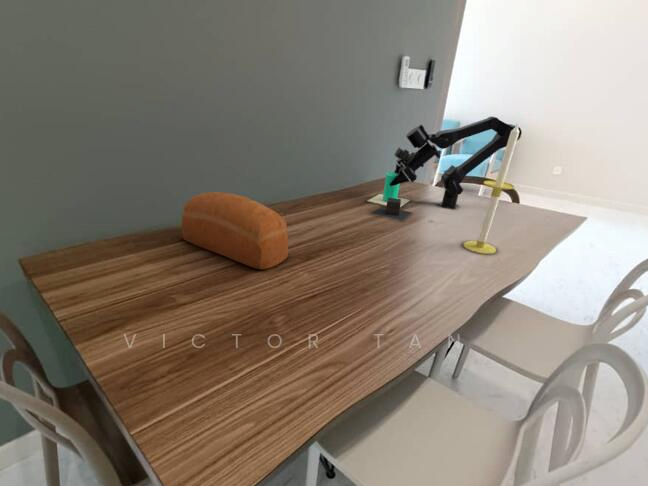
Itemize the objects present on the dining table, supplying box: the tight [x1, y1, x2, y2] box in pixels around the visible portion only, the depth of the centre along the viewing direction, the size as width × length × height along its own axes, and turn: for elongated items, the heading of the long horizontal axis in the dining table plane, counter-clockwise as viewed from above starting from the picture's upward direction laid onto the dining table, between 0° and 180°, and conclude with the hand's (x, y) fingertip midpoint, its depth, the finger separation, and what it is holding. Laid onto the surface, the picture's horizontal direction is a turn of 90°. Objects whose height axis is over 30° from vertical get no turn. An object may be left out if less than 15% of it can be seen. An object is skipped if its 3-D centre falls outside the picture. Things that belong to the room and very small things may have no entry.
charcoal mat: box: [371, 205, 413, 221], centre depth 151 cm, size 12×12×1 cm
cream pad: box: [367, 193, 411, 208], centre depth 165 cm, size 14×14×1 cm
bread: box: [181, 191, 289, 270], centre depth 111 cm, size 14×33×16 cm, turn 54°
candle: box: [382, 169, 401, 201], centre depth 162 cm, size 6×6×12 cm
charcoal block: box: [385, 198, 401, 216], centre depth 150 cm, size 5×5×5 cm
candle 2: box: [462, 120, 520, 255], centre depth 117 cm, size 10×10×38 cm
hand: (388, 183), depth 162 cm, fingers closed on candle, 5 cm apart
